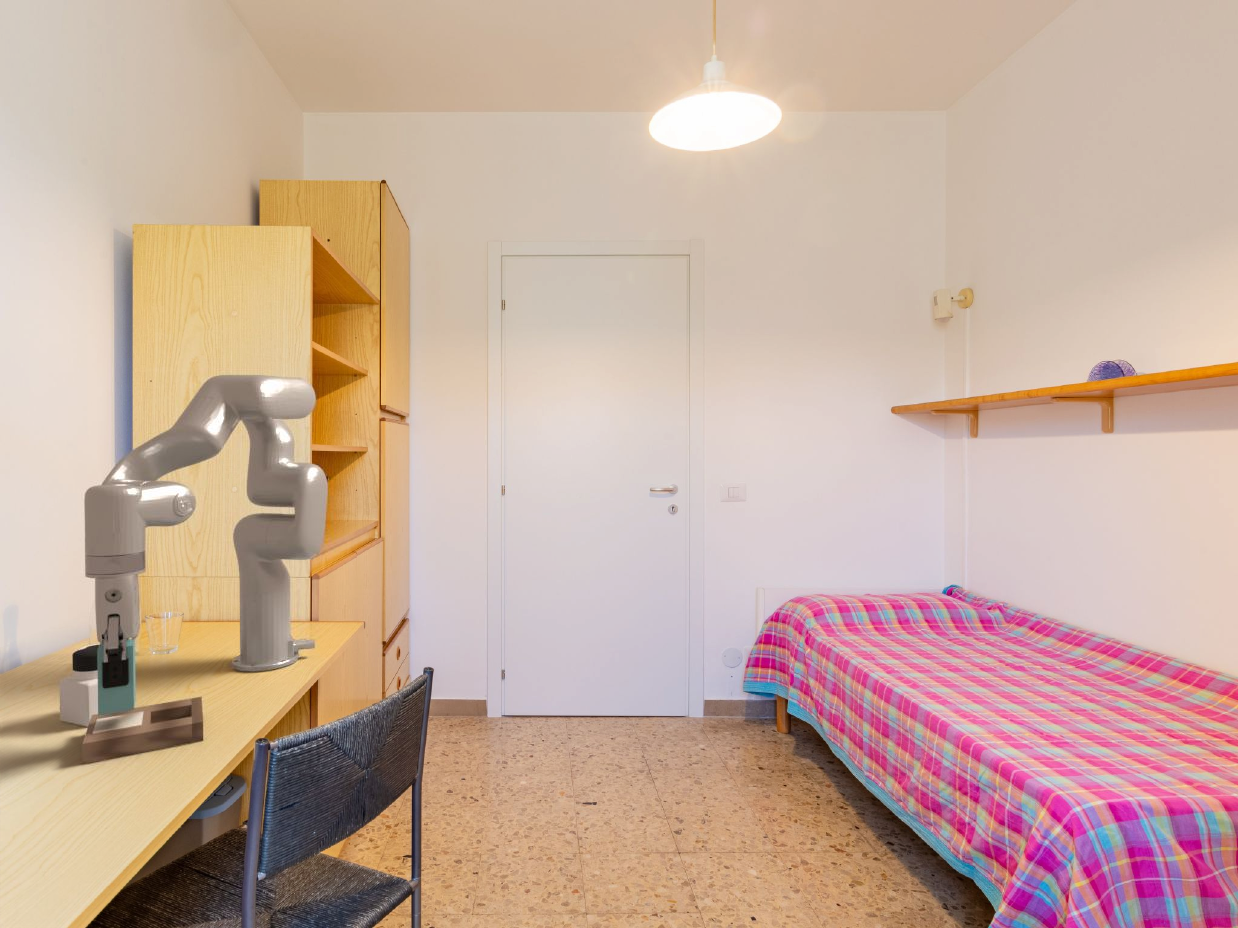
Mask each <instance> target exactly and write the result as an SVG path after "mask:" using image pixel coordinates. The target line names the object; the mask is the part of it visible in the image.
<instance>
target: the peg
mask: <svg viewBox="0 0 1238 928" xmlns="http://www.w3.org/2000/svg"><path fill="white" fill-rule="evenodd" d="M103 643H104V642H103ZM103 643H100V642H99V644H100V645H99V647H98V650H97V665H98V716H99V715H105V714H111V713H117V712H123V711H129V710H134V708H135V707H136V706H135V705H136V697H137V696H136V695H137V694H136V692H137V691H136V639H134V640H132V638H129V639H127V645H126V659H128V658H129V683H128V685H126V686H119V687H113V688H106V689H105V688H103V687H102V662H104V644H103ZM119 646H121V648H122V644H119Z"/></svg>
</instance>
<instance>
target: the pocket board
mask: <svg viewBox="0 0 1238 928" xmlns="http://www.w3.org/2000/svg"><path fill="white" fill-rule="evenodd" d="M202 699H203V697H202V696H199V697H198V696H197V697H192V698H191V697H190V698H185V699H179V700H174V701H169V702H168V701H167V702H162V703H156V704H151V705H145V706H144V705H143V706H138V707H137V706H136V707H134V710H129V711H123V712H117V713H111V714H105V715H99V716H98V714H95V715H92V716H91V719H90V722H89V725H88V727H87V729H86V732H85V736H84V738H83V741H82V744H81V745H82V747H81V748H82V749H81V750H82V751H81V752H82V765H85V764H90V763H91V764H92V763H96V762H100V761H106V760H111V759H115V758H121V757H125V756H131V755H137V754H141V753H145V752H151V751H157V750H161V749H165V748H171V747H177V746H182V745H187V744H193V743H197V742H202V741H203V742H204V712H203V700H202Z"/></svg>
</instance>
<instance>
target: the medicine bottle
mask: <svg viewBox="0 0 1238 928" xmlns="http://www.w3.org/2000/svg"><path fill="white" fill-rule="evenodd" d="M99 645H100V643H95V644H90V645H89V644H88V645H86V646H82V647H80V648H78V649H76V650H75V651H74V652H73V653H72V656H71V657H72V660H71V661H72V675H70V676H68V677H64V678H61V679H59V680H58V683H59V685H58V686H59V691H58V692H59V720H60V722H63V723H67V724H68V723H69V724H74V725H77V726H82V727H87V728H88V725H89V722H90V719H91V716H92V715H95V714H98V665H97V650H98V647H99Z"/></svg>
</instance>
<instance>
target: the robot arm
mask: <svg viewBox="0 0 1238 928" xmlns="http://www.w3.org/2000/svg"><path fill="white" fill-rule="evenodd" d="M316 396H317V395H316V392H315V389H314V387H313V386H312V385H311V383H310V382H309V381H307V380H306V379H304V378H301V377H287V376H274V375H273V376H272V375H264V374H221V375H220V374H219V375H215V376H212V377H210V378H208V379H207V380H206V381H205V382H204V383H203V384H202V385H201V387H199V389H198V391H197V392H196V394H195V395H194V396H193V398H192V399H191V400H190V402H189V404H188V405H186V407H185V409H184V410H183V411H182V413H181V414H180V416H179V417H178V419H177V420H176V421H175V423H174V424H173V425H172V427H171V428H169V429H168V430H165V431H162V433H159V434H158V435H156V436H154V437H153V438H151V439H149V440H148V441H146V442H144V443H142V444H141V445H139V446H137V447H135V448H134V449H133V450H131V451H129V452H128V453H127V454H125V455H124V456H123V457H122V458H121V459H120V460H119V461H118V462H117V463H116V464H115V466H114V467H113V468H112V469H111V470H110V472H109V473H108V474H107V476H106V477H105V479H104V480H103V481H102V483H101V484H97V485H94V486H90V487H89V488H88V489H86V491H85V493H84V500H83V502H84V503H83V504H84V567H85V569H84V571H85V572H84V573H85V574H84V575H85V576H84V577H86V578H89V579H94V601H95V605H94V606H95V608H94V609H95V610H94V611H95V623H96V624H95V625H96V626H95V627H96V637H97V642H99V644H100V643H103V642H104V643H103V644H104V662H102V687H103V688H105V689H106V688H113V687H119V686H126V685H128V683H129V658H128V659H126V645H127V639H132V640H134V639H135V640H136V639H137V638H138V636H139V634H140V629H141V628H140V627H141V621H140V620H141V619H140V616H141V615H140V585H139V575H141V574H143V573H146V570H147V568H146V528H148V527H175V526H177V525H180V524H182V523H184V522H186V521H187V520H188V519H190V518H191V516H192V515H193V514H194V512H195V511H196V510H195V509H196V506H197V501H196V496H195V494H194V492H193V491H192V489H191V488H189V487H188V486H187V485H185V484H183V483H180V482H178V481H170V480H168V481H167V480H159V479H161V478H162V477H164V476H166V475H167V474H170V473H172V472H175V471H177V470H180V469H183V468H186V467H187V468H188V467H190V466H193V465H196V464H199V463H201V462H205V461H208V460H210V459H212V458H214V457H216V456H217V455H219V454H220V453H221V451H222V449H223V448H224V446H225V444H226V443H227V442H228V440H229V438H230V436H231V435H232V434H233V432H234V430H235V429H236V427H237V425H238V424H239V423H240V422H242V424H243V426H244V428H245V429H246V431H247V435H248V438H249V453H248V455H249V457H248V465H247V466H248V467H247V474H246V475H247V477H246V496H247V499H248V500H249V502H250V503H251V504H254V505H255V506H259V507H268V508H294V513H276V512H275V513H274V512H273V513H271V512H270V513H267V512H262V513H261V512H260V513H259V512H258V513H253V514H252V513H251V514H249V515H246V516H244V517H242V518H241V519H240V520H239V521H238V522H237V523H236V524H235V526H234V530H233V534H232V535H233V536H232V537H233V538H232V539H233V540H232V541H233V547H234V549H235V554H236V559H237V565H238V574H239V577H238V579H239V651H240V652H239V655H237V656H235V657H233V658H232V660H231V667H232V668H233V670H236V671H239V672H262V671H270V670H271V671H272V670H276V669H281V668H284V667H287V666H289V665H292V664H294V663H296V662H297V661H299V660H298V659H299V656H300V655H299V654H300V653H299V652H300V650H310V649H315V648H316V645H315V638H313V639H312V638H311V639H307V638H301V639H295V638H293V636H292V634H291V633H292V632H291V576H290V573H289V571H288V568H287V567H286V564H285V563H284V562H283V560H288V561H289V560H291V561H293V560H295V561H302V560H305V561H306V560H312V559H313V558H315V557H317V556H318V555H319V553H320V552H321V550H322V547H323V545H324V540H325V533H326V531H325V530H326V521H327V519H326V518H327V509H328V508H327V507H328V495H329V494H328V489H329V487H328V480H327V477H326V476H327V475H326V474H325V472H324V470H323V469H322V468H321V467H320V466H319V465H317V464H314V463H311V462H295V438H294V436H293V433H292V431H291V430H290V428H289V427H288V425H287V424H286V422H285V420H301V419H305V418H306V417H308V416H309V415H311V413H312V412H313V411H314V409H315V405H316V402H317V400H316V399H317V397H316ZM119 644H122V648H121V646H119Z"/></svg>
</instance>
